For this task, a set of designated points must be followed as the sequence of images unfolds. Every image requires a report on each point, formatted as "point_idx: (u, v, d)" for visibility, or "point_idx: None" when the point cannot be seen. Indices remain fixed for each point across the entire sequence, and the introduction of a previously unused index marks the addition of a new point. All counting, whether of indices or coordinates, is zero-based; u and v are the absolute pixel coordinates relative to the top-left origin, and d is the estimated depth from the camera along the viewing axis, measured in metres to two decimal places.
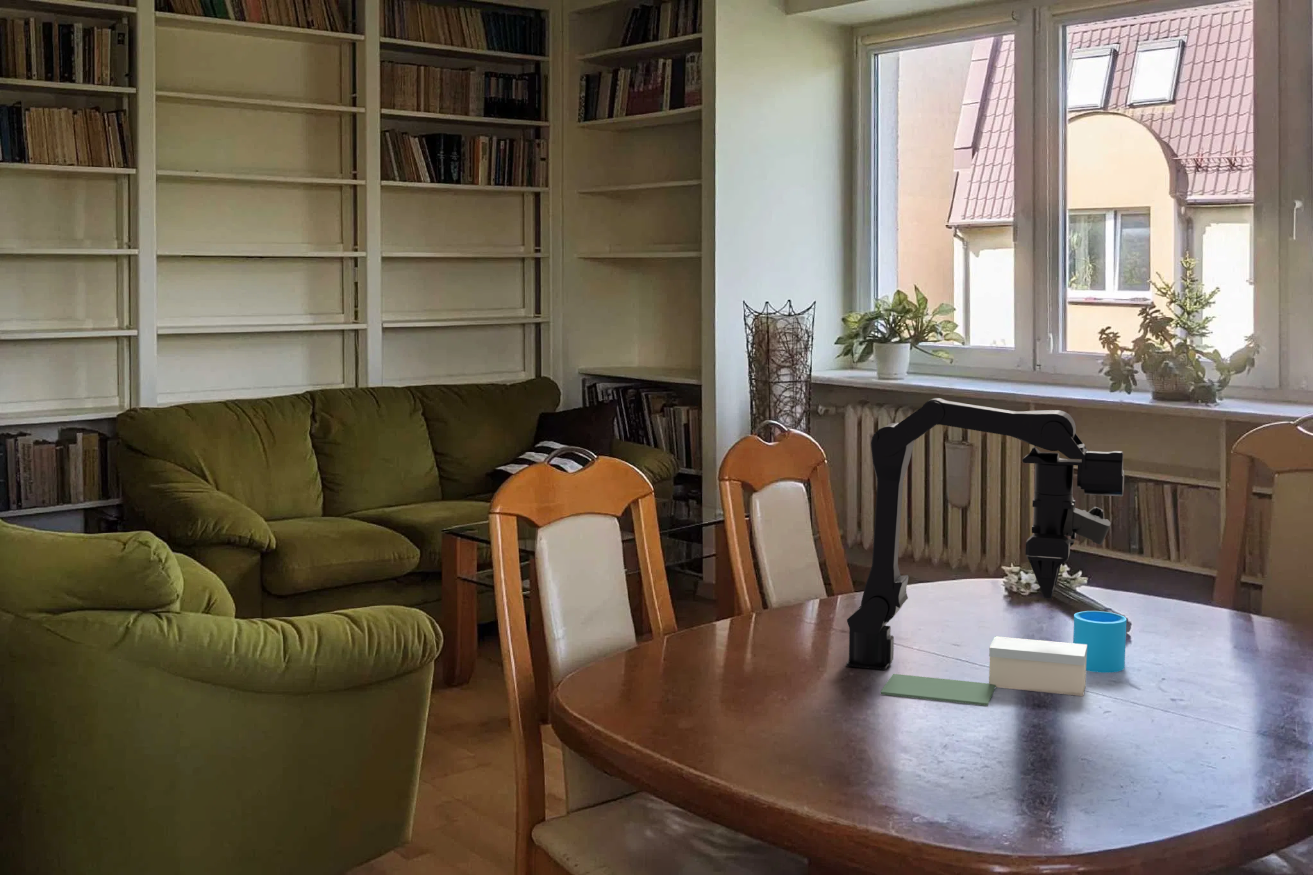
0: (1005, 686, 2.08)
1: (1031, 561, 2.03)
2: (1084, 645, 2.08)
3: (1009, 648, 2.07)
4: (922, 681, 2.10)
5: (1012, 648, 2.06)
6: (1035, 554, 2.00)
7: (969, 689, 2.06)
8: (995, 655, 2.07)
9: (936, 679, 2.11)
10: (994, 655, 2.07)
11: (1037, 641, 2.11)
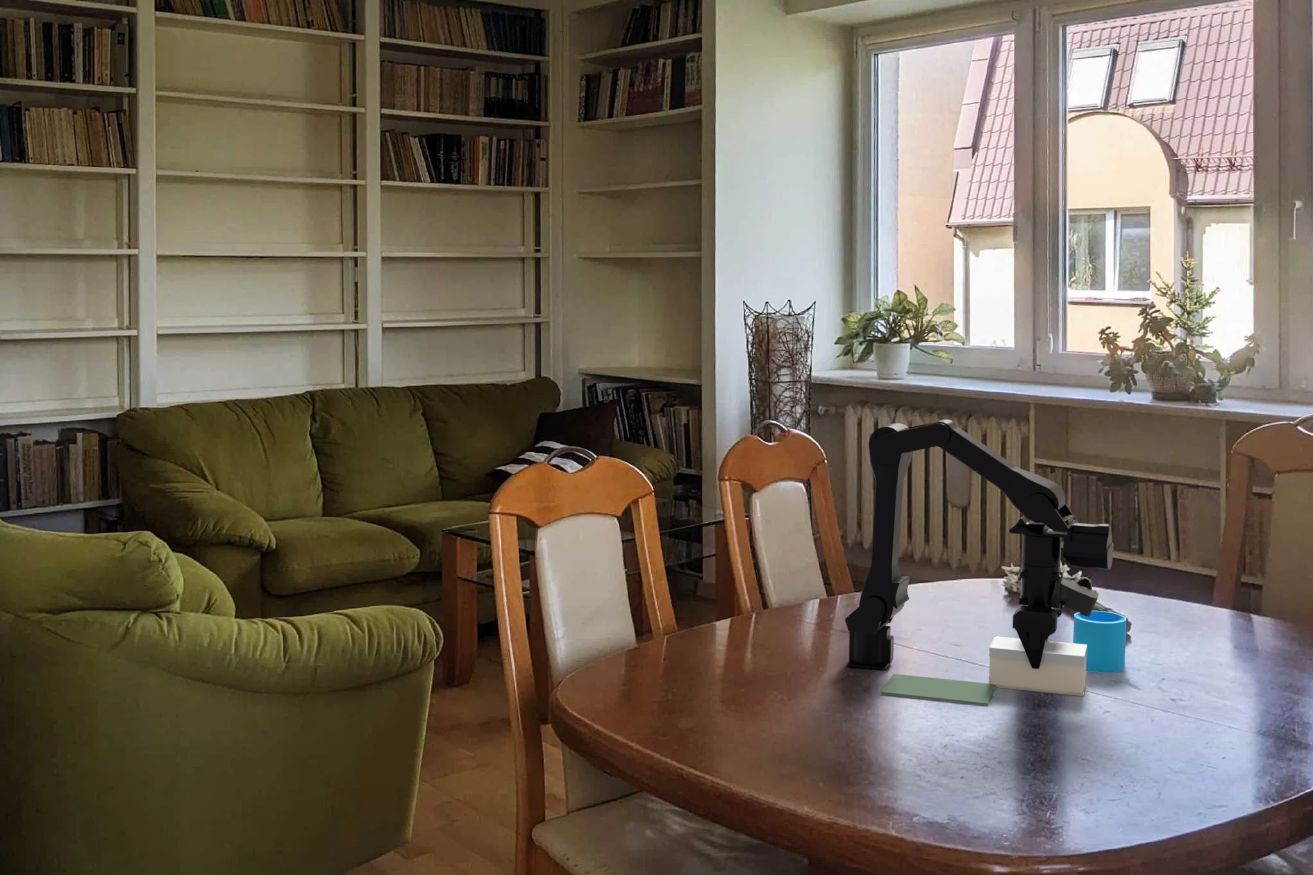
0: (1005, 686, 2.08)
1: (1019, 632, 2.03)
2: (1084, 645, 2.08)
3: (1009, 648, 2.07)
4: (922, 681, 2.10)
5: (1012, 648, 2.06)
6: (1022, 628, 1.99)
7: (969, 689, 2.06)
8: (995, 655, 2.07)
9: (936, 679, 2.11)
10: (994, 655, 2.07)
11: None
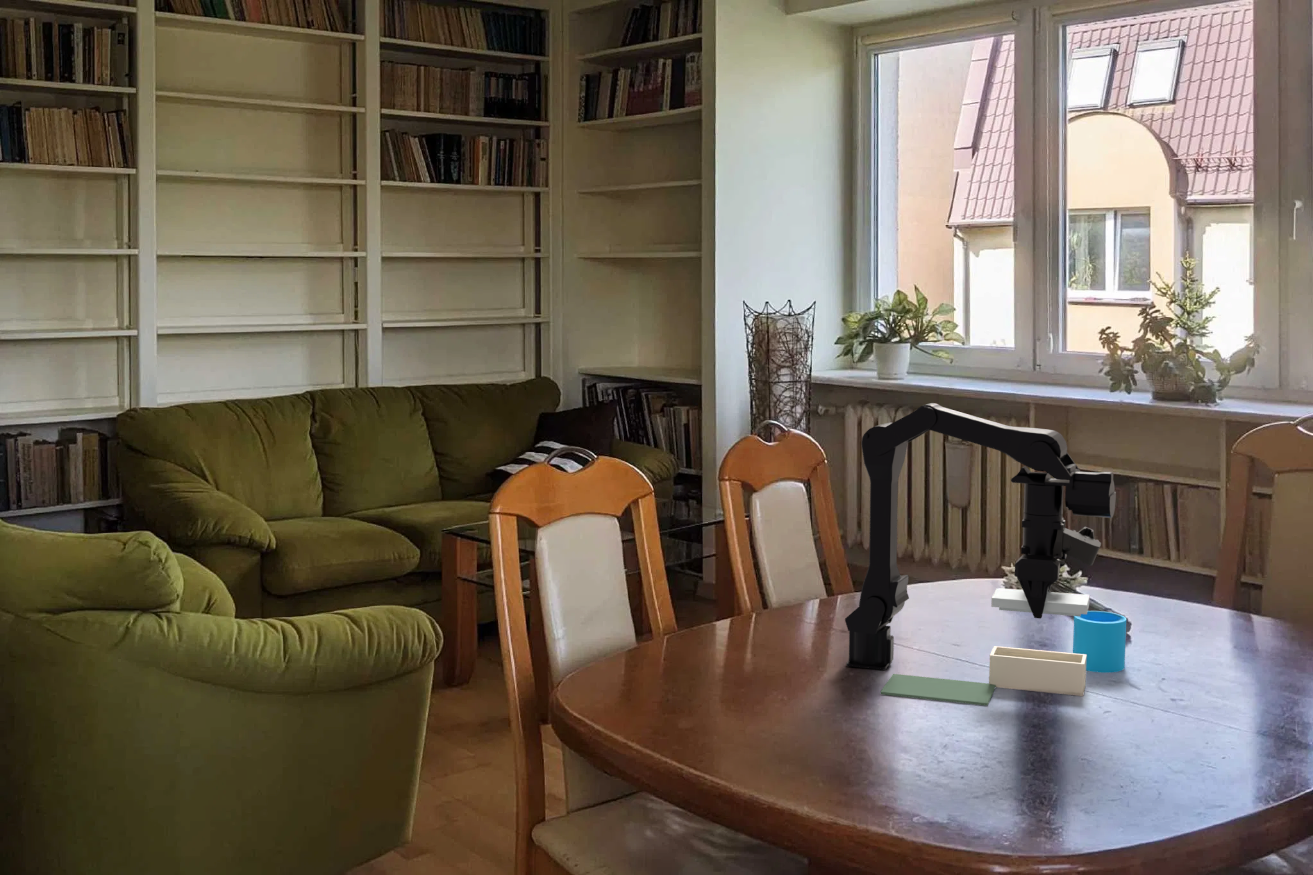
0: (1005, 686, 2.08)
1: (1021, 581, 2.02)
2: (1087, 595, 2.07)
3: (1011, 598, 2.06)
4: (922, 681, 2.10)
5: (1014, 598, 2.05)
6: (1024, 576, 1.98)
7: (969, 689, 2.06)
8: (997, 605, 2.06)
9: (936, 679, 2.11)
10: (996, 605, 2.06)
11: None
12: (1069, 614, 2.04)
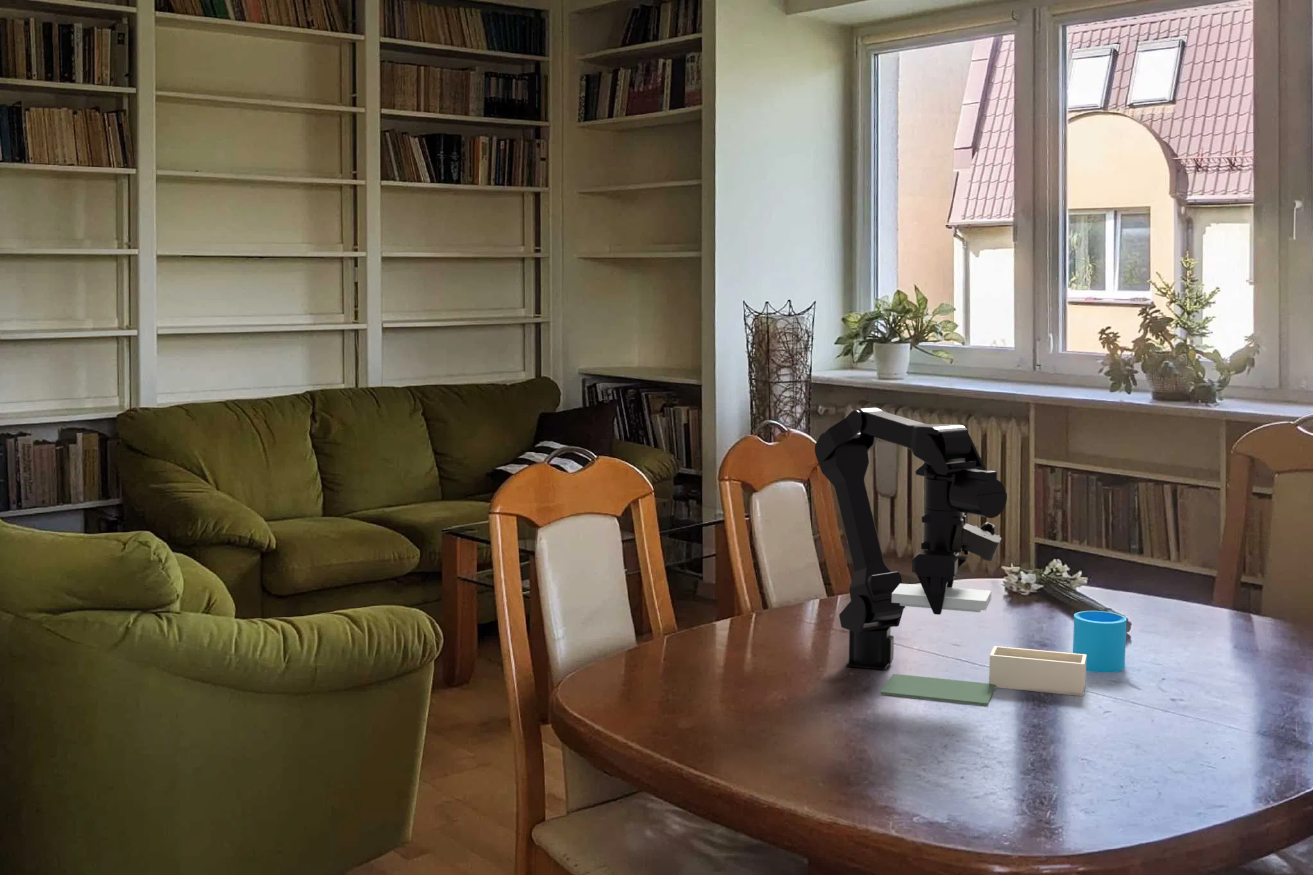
0: (1005, 686, 2.08)
1: (920, 577, 2.00)
2: (988, 591, 2.05)
3: (911, 594, 2.04)
4: (922, 681, 2.10)
5: (915, 594, 2.03)
6: (921, 571, 1.96)
7: (969, 689, 2.06)
8: (897, 601, 2.04)
9: (936, 679, 2.11)
10: (896, 601, 2.04)
11: None
12: (969, 610, 2.02)
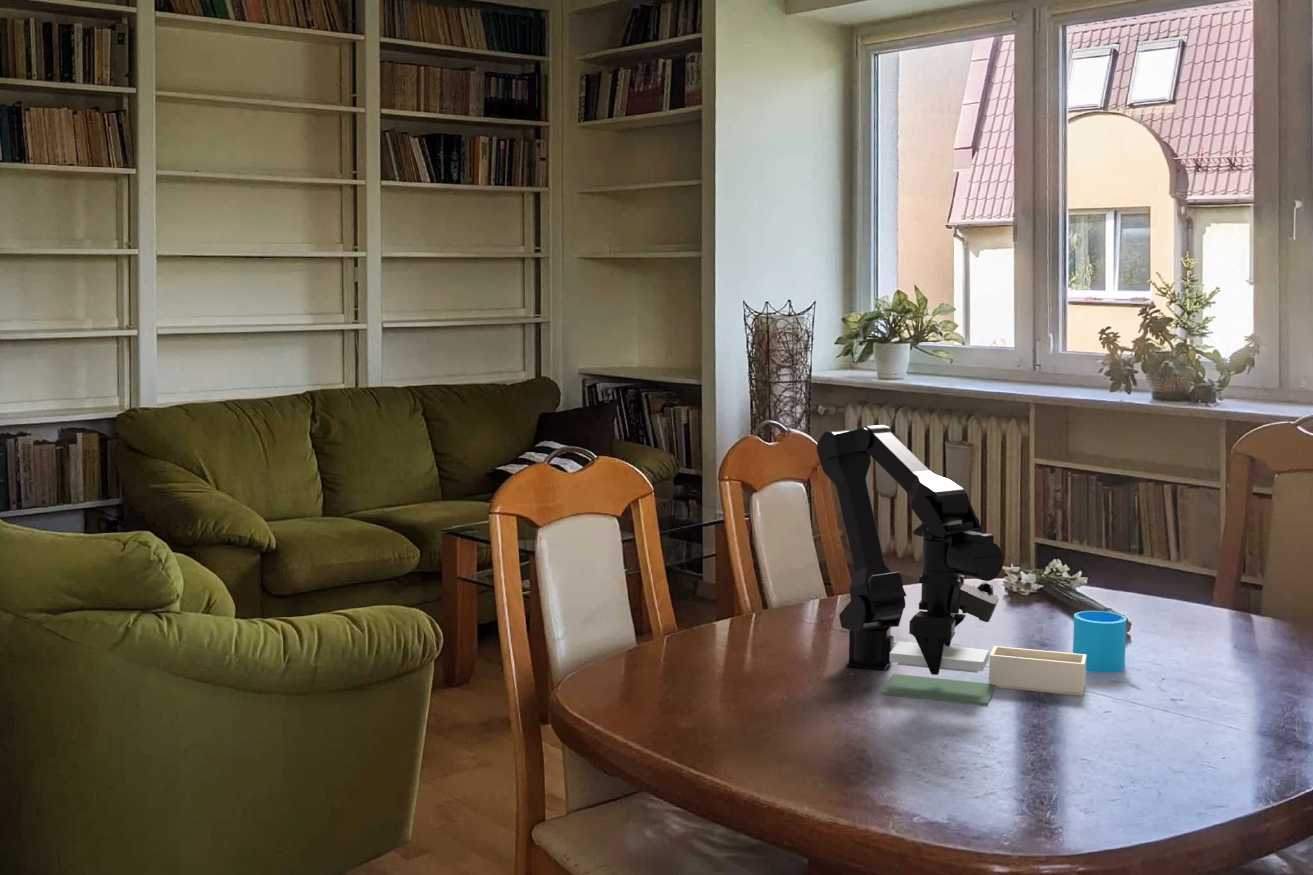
0: (1005, 686, 2.08)
1: (917, 638, 2.01)
2: (986, 650, 2.06)
3: (909, 653, 2.05)
4: (922, 681, 2.10)
5: (912, 654, 2.05)
6: (918, 633, 1.97)
7: (969, 689, 2.06)
8: (895, 661, 2.05)
9: (936, 679, 2.11)
10: (894, 661, 2.05)
11: None
12: (966, 670, 2.03)
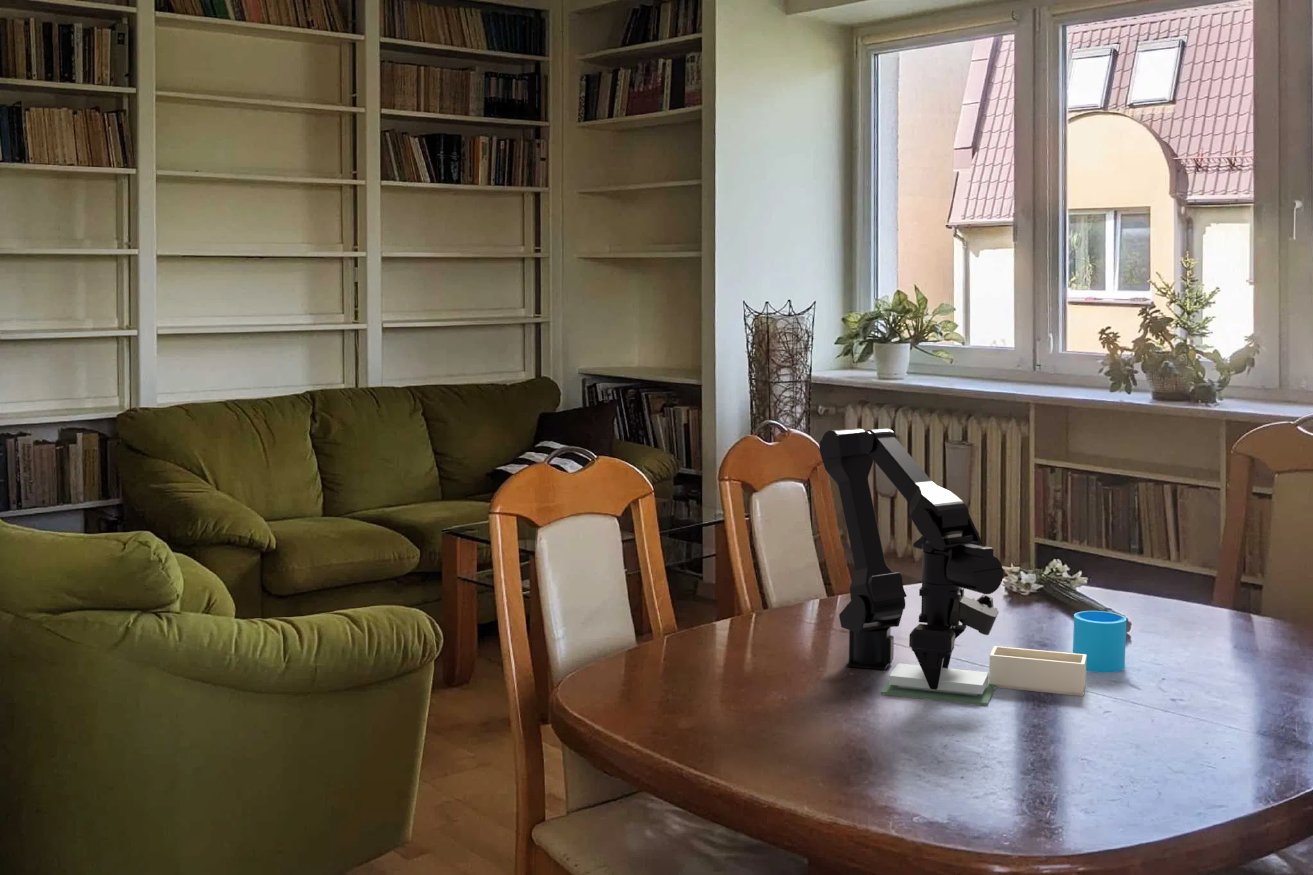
0: (1005, 686, 2.08)
1: (916, 652, 2.00)
2: (985, 673, 2.07)
3: (909, 676, 2.05)
4: None
5: (912, 676, 2.05)
6: (918, 646, 1.98)
7: None
8: (895, 683, 2.05)
9: None
10: (894, 683, 2.06)
11: None
12: (966, 693, 2.03)
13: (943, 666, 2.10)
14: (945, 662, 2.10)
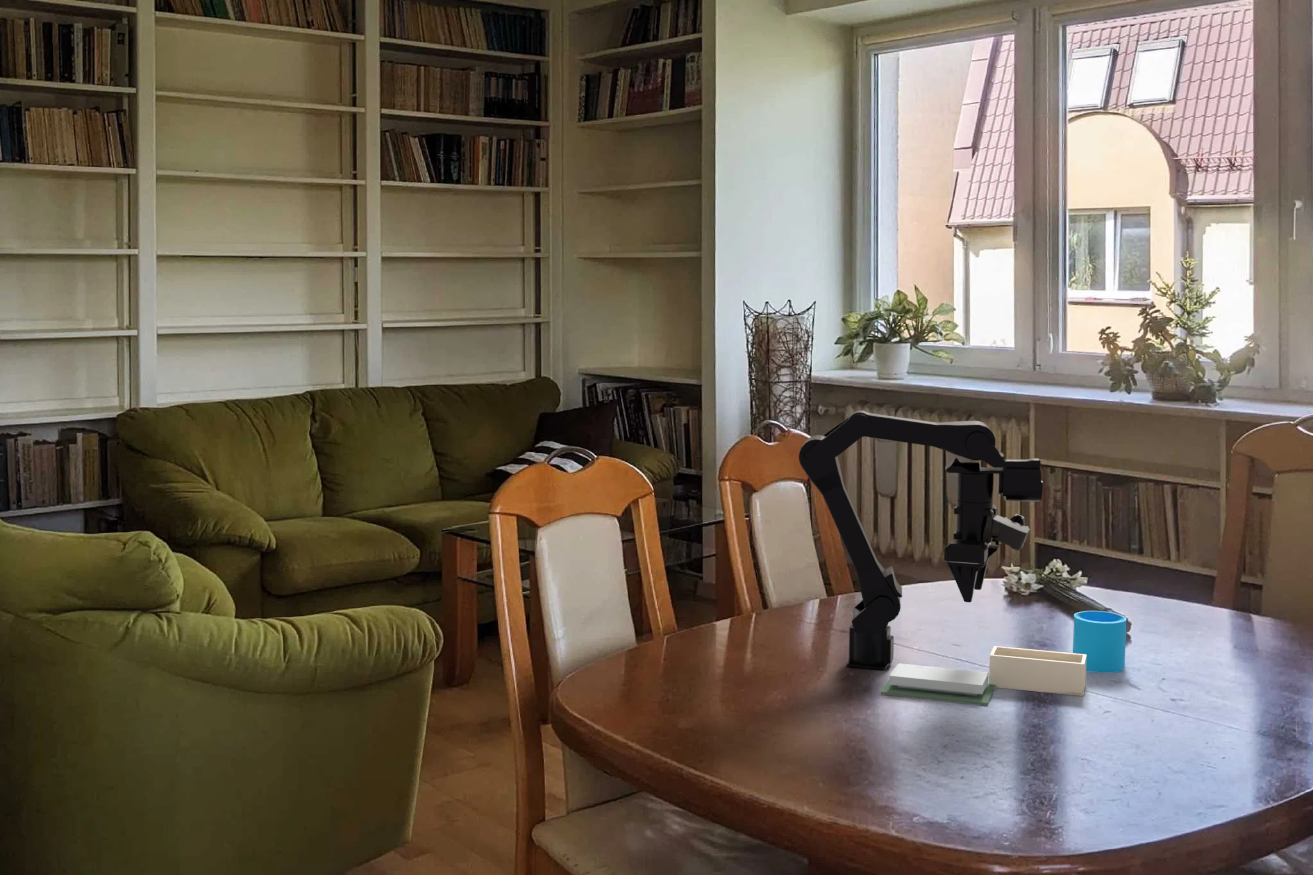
0: (1005, 686, 2.08)
1: (951, 566, 2.11)
2: (985, 673, 2.07)
3: (909, 676, 2.05)
4: None
5: (912, 676, 2.05)
6: (953, 560, 2.08)
7: None
8: (895, 683, 2.05)
9: None
10: (894, 683, 2.06)
11: (939, 669, 2.09)
12: (966, 693, 2.03)
13: (977, 584, 2.21)
14: (979, 580, 2.21)
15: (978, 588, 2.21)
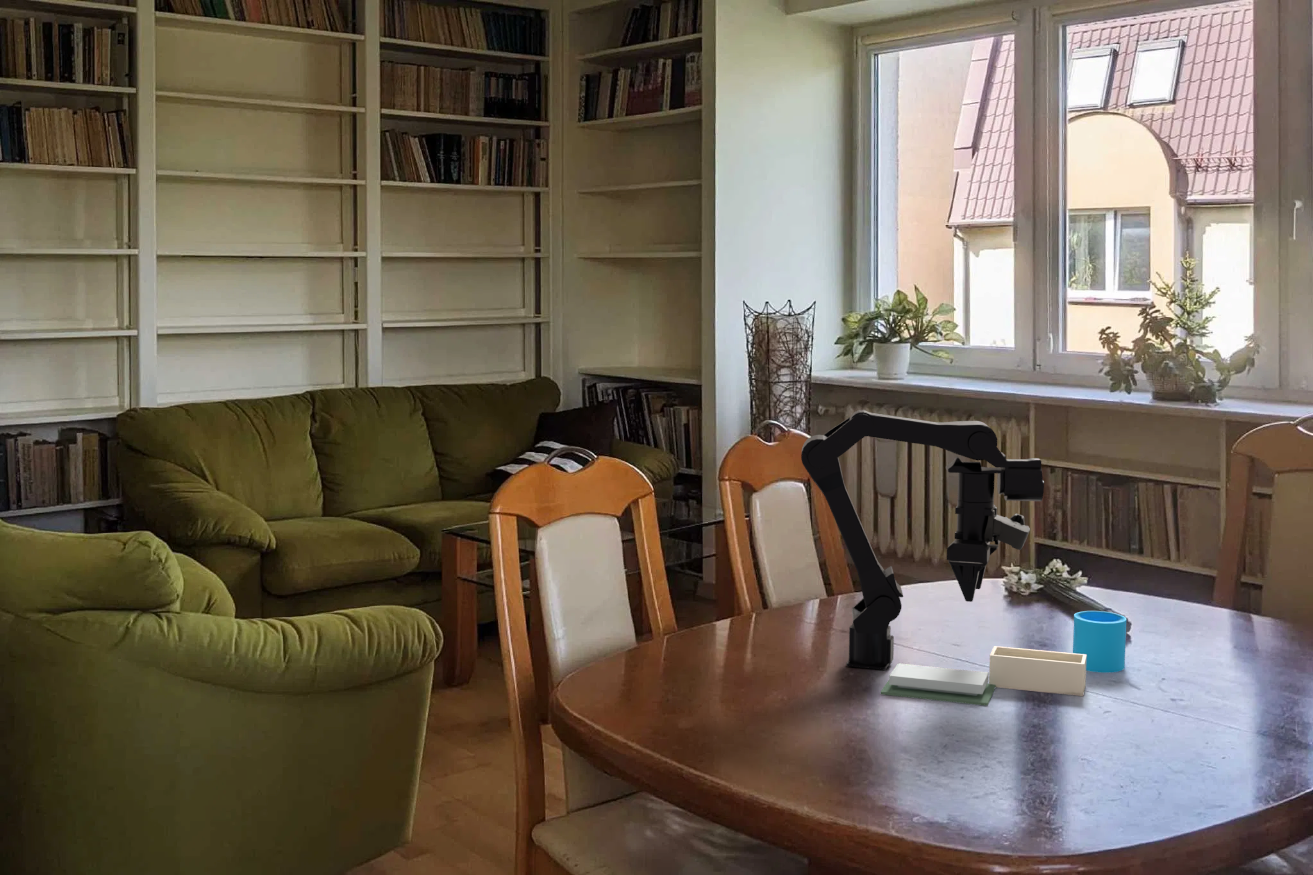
0: (1005, 686, 2.08)
1: (953, 566, 2.12)
2: (985, 673, 2.07)
3: (909, 676, 2.05)
4: None
5: (912, 676, 2.05)
6: (955, 559, 2.09)
7: None
8: (895, 683, 2.05)
9: None
10: (894, 683, 2.06)
11: (939, 669, 2.09)
12: (966, 693, 2.03)
13: (977, 583, 2.22)
14: (978, 579, 2.21)
15: (977, 587, 2.22)
